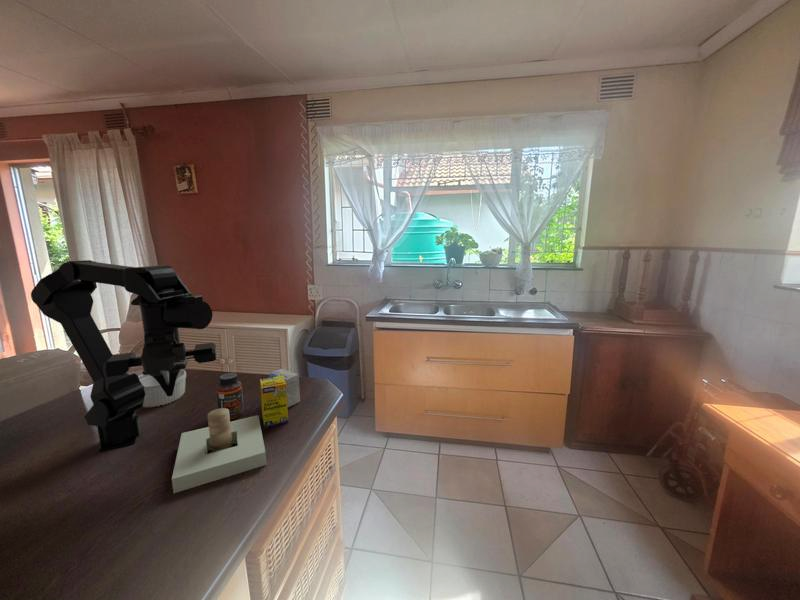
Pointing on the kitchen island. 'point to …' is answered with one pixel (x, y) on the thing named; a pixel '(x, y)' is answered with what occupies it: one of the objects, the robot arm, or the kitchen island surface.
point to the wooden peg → (219, 429)
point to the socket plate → (218, 455)
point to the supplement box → (274, 401)
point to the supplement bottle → (230, 395)
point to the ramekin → (161, 390)
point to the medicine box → (289, 385)
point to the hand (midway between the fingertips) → (170, 395)
